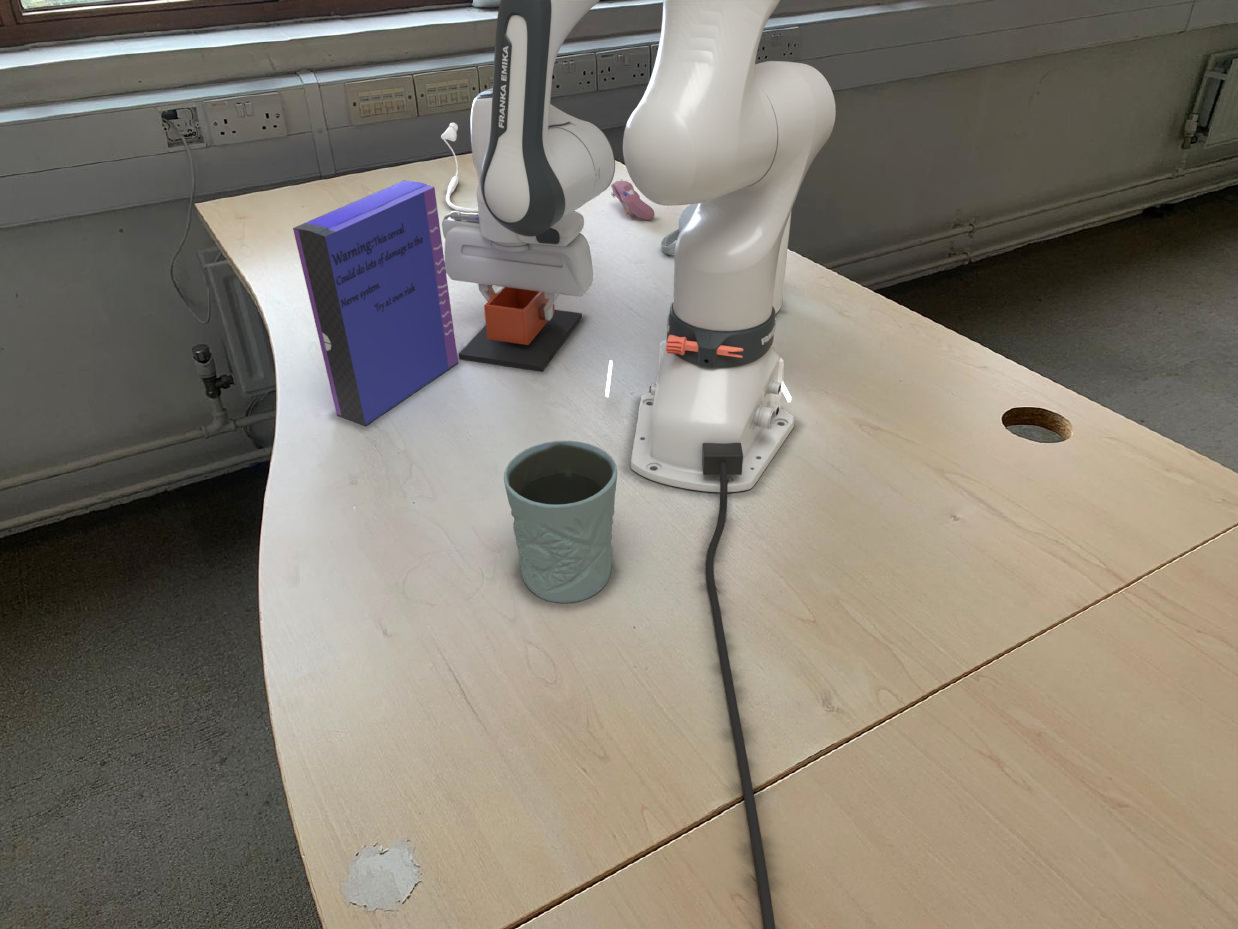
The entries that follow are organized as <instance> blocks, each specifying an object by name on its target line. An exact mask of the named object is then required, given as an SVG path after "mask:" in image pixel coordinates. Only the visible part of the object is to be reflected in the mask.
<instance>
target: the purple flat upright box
mask: <svg viewBox="0 0 1238 929" xmlns="http://www.w3.org/2000/svg"><path fill="white" fill-rule="evenodd" d="M437 202H438V201H437V196H436V188H435V186H433V185H429V184H427V183H424V182H420V181H413V180H406V179H405V180H400V181H399V182H396V183H394V184H392V185H389V186H387V187H385V188H382V189H380V190H378V191H376V192H372V193H371V194H369V195H366V196H364V197H362V198H360V199H357V200H355V201H352V202H350V203H347V204H345V205H343V206H341V207H338V208H336V209H334V210H332V211H329V212H327V213H324V214H321V215H320V216H318V217H315V218H313V219H310V220H308V221H306V222H304V223H301V224H299V225H297V226H294V227H292V230H293V234H294V239H295V243H296V247H297V251H298V257H299V260H300V264H301V269H302V273H303V278H304V280H305V281H304V282H305V285H306V290H307V294H308V298H309V299H308V300H309V304H310V306H311V312H312V315H313V319H314V324H315V328H316V332H317V337H318V340H319V345H320V350H321V353H322V358H323V362H324V367H325V370H326V371H325V372H326V375H327V379H328V383H329V387H330V391H331V396H332V401H333V404H334V410H335V413H336V416H337V417H340V418H342V419H345V420H348V421H350V422H354V423H356V424H359V425H361V426H364V427H368V425H370V424H372V423H373V422H375V421H376V420H378V419H379V418H380V417H382V416H384V415H385V414H386V413H388V412H389V411H391V410H392V409H393V408H395V407H397V406H398V405H400V404H401V403H402V402H403V401H405V400H407V399H408V398H410V397H411V396H413V395H414V394H416V393H417V392H419V391H420V390H422V389H423V388H425V387H426V386H427V385H429V384H430V383H432V382H433V381H435V380H436V379H438V378H439V377H441V376H442V375H444V374H445V373H446V372H448V371H450V370H451V369H452V368H454V367H456V366H457V365H458V364H459V356H458V351H457V343H456V335H455V328H454V321H453V314H452V306H451V299H450V292H449V285H448V278H447V276H448V275H447V273H446V269H445V253H444V248H443V240H442V232H441V226H440V217H439V210H438V204H437Z"/></svg>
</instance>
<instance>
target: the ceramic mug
mask: <svg viewBox="0 0 1238 929" xmlns="http://www.w3.org/2000/svg"><path fill="white" fill-rule="evenodd" d="M697 205H698V204H689V205H688V206H687V205H686V207H685V208H684V209H683V210H682V211H681V214H680V216H679V219H678V229H676V230H674V231H672V232H670V233H668V234H666V236H665V237H664V238H662V240H661V243H660V247H661V249H662V251H663V252H664V254H665V255H669V256H670V255H675V245H676V243H674V242H676V241H677V238H678V236H679V233H680V232H681V230H682V228H683V227H684V225H685V224H686V223H687V221H688V220H689V219H690V217H691V216H692V214H693V213H694V211H695V209H696V207H697ZM672 243H674V244H672Z"/></svg>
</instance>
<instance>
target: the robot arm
mask: <svg viewBox="0 0 1238 929" xmlns="http://www.w3.org/2000/svg"><path fill="white" fill-rule="evenodd" d="M600 1H601V0H500V2H499V5H498V11H497V18H496V27H495V42H494V56H493V57H494V58H493V75H492V87H490V88H488V89H485V90H483V91H481V92H479V93H478V94H477V95H476V96H475V98H474V99H473V101H472V105H471V111H470V144H471V145H470V146H471V154H472V163H473V166H474V169H475V171H476V175H477V189H476V203H477V208H478V212H463V211H458V210H453V211H452V210H451V211H450V213H447V214H445V216H444V217H443V219H442V221H441V228H442V235H443V238H444V261H445V269H446V276H448V277H449V278H450V279H451V280H452V281H457V282H464V283H472V284H478V291H479V292H480V294H481V295H482V296H483V298H484V299H485V301H486V303H487V302H488V301H489V300H490V299H491V298H492V297H493V296H494V295H495V294H496V293H497V292H495V290H494V288H493V286H495V287H500V288H501V287H509V288H517V289H524V290H532V291H539V292H544V295H545V299H549V300H548V302H547V304H544V303H543V304H542V305H541V307H540V308H539V309H538V311H539V319H540V320H547V321H550V320H551V318H552V317H553V304H554V305H555V303H556V301H557V300H558V298H559V296H560V295H564V296H570V297H577V298H581V296H583V295H584V294H585V293H586V292H588V290H589V289H590V288H591V286H592V284H593V281H594V270H593V261H592V253H591V248H590V244H589V242H588V239H587V238H586V236H584V234H582V233H581V232H582V230H583V229H584V226H585V218H584V216H583V215H582V214H581V213H580V212H578V211H577V210H578V209H580V208H582V207H583V206H584V205H585V204H587V203H589V202H591V201H592V200H593V199H595V198H597V197H598V196H600V195H601V194H602V193H603V192H605V191H607V189H608V188H609V187H611V185H612V182H613V180H614V177H615V172H616V156H615V153H614V149H613V146H612V143H611V142H610V140H609V138H608V136H607V135H606V133H605V132H604V131H603V130H602V129H601V128H600V127H599V126H598V125H596V124H595V123H594V122H592V121H589V120H587V119H579V118H577V117H575V116H573V115H570V114H568V113H567V112H565V111H562V110H561V109H559V108H557V107H556V106H554V105H553V104H551V98H552V85H553V73H554V72H553V71H554V68H555V63H556V59H557V57H558V54H559V51H560V49H561V47H562V45H563V44H564V42H565V40H566V38H567V37H568V36H569V34H570V33H571V32H572V30H573V29H574V28H575V27H576V25H577V24H578V23H579V22H580V21H581V20H582V19H583V18H584V17H585V15H586V14H587V13H588V12H590V11H591V10H592V9H593V7H595V6H596V5H597V4H599V2H600ZM780 2H781V0H662V20H661V30H660V36H659V42H658V48H657V53H656V57H655V62H654V65H653V69H652V72H651V76H650V79H649V82H648V84H647V87H646V90H645V91H644V94H643V96H642V97H641V99H640V101H639V102H638V104H637V105H636V107H635V109H634V110H633V111H632V113H631V114H630V116H629V118H628V119H627V122H626V125H625V126H624V132H623V137H622V139H623V140H622V153H623V154H622V155H623V160H624V165H625V168H626V172H627V174H628V176H629V178H630V180H631V182H632V183H633V185H634V186H635V188H636V189H637V190H638V191H639V192H640V194H642V196H643V197H644V198H646V199H647V200H649V201H651V202H652V203H654V204H656V205H659V206H663V207H664V206H666V207H669V206H670V207H671V206H687V205H688V206H689V205H691V204H698V205H697V207H696V209H695V211H694V213H693V214H692V216H691V217H690V219H689V220H688V221H687V223H686V224H685V225H684V227H683V228H682V230H681V232H680V233H679V236H678V238H677V240H675V244H676V245H675V254H674V257H673V258H674V259H673V260H674V262H673V263H674V264H673V292H672V293H673V294H672V295H673V296H672V297H673V299H672V300H673V301H672V302H671V303H670V306H669V311H668V312H669V313H668V315H667V322H666V330H667V331H666V339H663V341H661V342H660V343H659V344H658V346H659V347H658V348H659V349H658V351H659V353H658V354H659V355H658V360H659V361H658V362H659V363H658V369H657V375H656V376H657V377H656V382H655V383H651V384H650V385H649V391H648V392H646V393H643V394H642V395H641V397H640V402H639V408H638V414H637V420H636V426H635V432H634V438H633V443H632V444H633V445H632V450H631V455H630V456H631V457H630V469H631V470H632V471H634V472H635V473H637V475H640V476H642V477H644V478H646V479H648V480H651V481H653V482H656V483H659V484H662V485H667V486H670V487H676V488H679V489H680V488H681V489H685V490H692V491H699V492H708V493H719V508H718V517H717V522H716V526H715V531H714V532H713V535H712V538H711V540H710V542H709V544H708V548H707V553H706V557H705V579H706V587H707V592H708V597H709V602H710V607H711V613H712V619H713V625H714V632H715V639H716V645H717V652H718V656H719V662H720V666H721V667H720V668H721V673H722V679H723V685H724V692H725V697H726V703H727V708H728V714H729V719H730V725H731V732H732V735H733V741H734V742H733V743H734V748H735V752H736V753H735V754H736V759H737V765H738V771H739V777H740V781H741V788H742V793H743V799H744V806H745V811H746V817H747V818H746V819H747V824H748V830H749V836H750V837H749V838H750V842H751V843H750V844H751V849H752V856H753V863H754V869H755V875H756V882H757V889H758V894H759V896H758V897H759V902H760V903H759V904H760V910H761V917H762V925H763V929H776V924H775V923H776V922H775V917H774V910H773V903H772V895H771V889H770V883H769V876H768V871H767V865H766V858H765V851H764V845H763V839H762V835H761V827H760V821H759V816H758V811H757V804H756V799H755V794H754V788H753V787H754V786H753V782H752V778H751V772H750V766H749V761H748V754H747V750H746V745H745V739H744V732H743V728H742V722H741V718H740V713H739V708H738V702H737V697H736V692H735V686H734V680H733V675H732V669H731V665H730V664H731V663H730V658H729V653H728V652H729V651H728V647H727V641H726V635H725V630H724V624H723V620H722V619H723V618H722V612H721V608H720V607H721V605H720V602H719V597H718V593H717V587H716V581H715V574H714V563H715V555H716V551H717V548H718V547H719V546H718V545H719V543H720V540H721V538H722V535H723V531H724V528H725V523H726V518H727V511H728V510H727V509H728V493H738V492H743V491H748V490H751V489H752V488H753V487H755V485H756V484H757V482H758V480H759V479H760V478H761V476H762V475H763V473H764V472H765V470H766V469H767V467H768V466H769V464H770V463H771V462H772V460H773V459H774V457H775V456H776V454H777V453H778V451H779V450H780V449H781V447H782V445H783V444H784V442H785V441H786V439H787V437H789V435H790V433H791V432H792V430H793V429H794V427H795V417H794V415H793V414H792V413H790V412H788V411H787V410H785V409H784V408H782V399H783V395H784V397H785V399H786V401H787V403H791V402H792V396H791V394H790V392H789V391H788V388H787V387H786V385H785V383H784V370H785V360H784V359H783V358H782V356H781V355H780V354H779V353H778V352H777V351H776V349H775V347H774V345H773V343H774V339H775V333H776V327H777V319H776V314H775V309H774V307H773V296H774V287H775V279H776V271H777V263H778V255H779V250H780V245H781V241H782V237H783V233H784V230H785V227H786V224H787V221H788V218H789V216H790V213H791V214H792V210H793V207H794V205H795V203H796V199H797V196H798V194H799V193H800V192H799V191H800V190H801V186H802V184H803V182H804V181H805V180H804V179H805V177H806V174H807V173H808V171H809V169H810V167H811V165H812V163H813V161H814V160H815V158H816V157H817V155H818V154H819V153H820V151H821V150H822V148H823V147H824V146H825V145H826V143H827V142H828V140H829V139H830V137H831V135H832V133H833V130H834V126H835V122H836V115H837V114H836V113H837V112H836V110H837V109H836V108H837V107H836V100H835V96H834V93H833V90H832V87H831V86H830V84H829V82H828V80H827V79H826V78H825V76H824V75H823V74H822V73H821V72H820V71H819V70H818V69H817V68H815V67H814V66H811V65H810V64H806V63H802V62H796V61H795V62H793V61H785V60H784V61H782V60H767V61H763V62H759V63H756V60H757V55H758V50H759V45H760V43H761V38H762V35H763V32H764V30H765V27H766V24H767V22H768V21H769V19H770V17H771V16H772V14H773V13H774V12H775V10H776V8H777V7H778V5H779V4H780ZM612 372H613V360H612V359H611V360H609V363H608V369H607V379H606V386H605V397H606V398H609V397H610V389H611V388H610V387H611V380H612Z"/></svg>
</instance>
